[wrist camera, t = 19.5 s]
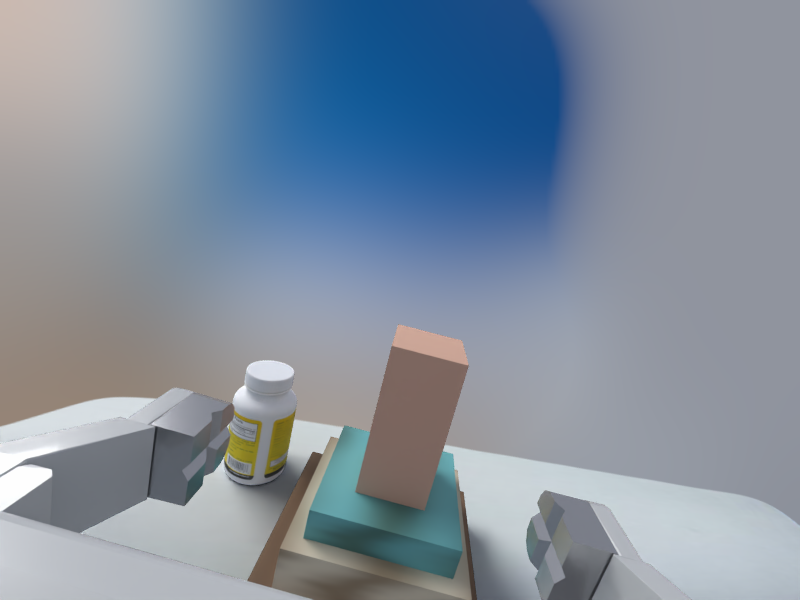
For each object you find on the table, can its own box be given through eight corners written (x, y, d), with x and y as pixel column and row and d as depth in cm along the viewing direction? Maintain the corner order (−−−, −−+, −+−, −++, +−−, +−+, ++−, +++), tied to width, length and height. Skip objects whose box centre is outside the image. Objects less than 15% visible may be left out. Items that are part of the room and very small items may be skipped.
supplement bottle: (282, 446, 38) (299, 358, 36) (287, 485, 33) (307, 386, 31) (224, 447, 36) (238, 354, 34) (220, 490, 31) (237, 384, 29)
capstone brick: (354, 491, 23) (391, 345, 21) (366, 449, 28) (398, 324, 26) (424, 510, 23) (468, 365, 21) (425, 464, 28) (462, 340, 25)
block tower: (225, 650, 21) (246, 534, 19) (306, 479, 34) (323, 402, 32) (471, 720, 20) (515, 608, 18) (454, 519, 34) (479, 443, 32)
